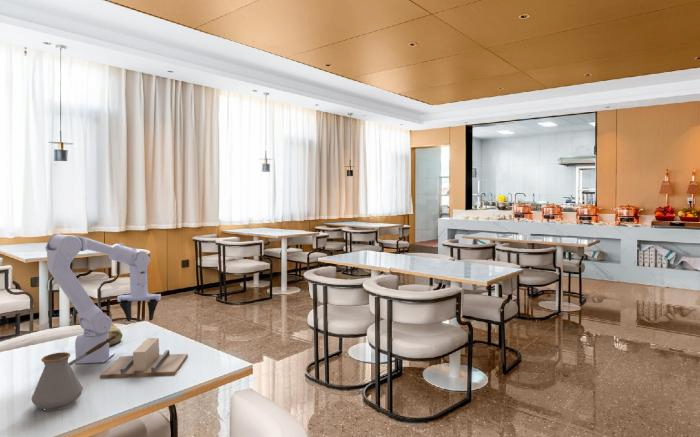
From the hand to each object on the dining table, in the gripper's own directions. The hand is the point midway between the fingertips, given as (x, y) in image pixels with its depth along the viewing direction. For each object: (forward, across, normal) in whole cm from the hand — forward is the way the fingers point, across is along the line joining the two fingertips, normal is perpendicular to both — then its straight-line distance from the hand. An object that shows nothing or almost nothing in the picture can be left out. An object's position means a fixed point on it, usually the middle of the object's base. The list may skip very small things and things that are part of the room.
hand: (140, 320), depth 163 cm
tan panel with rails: (+9, -9, +21) cm, 25 cm away
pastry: (+10, +15, -5) cm, 19 cm away
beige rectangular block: (+8, -9, +20) cm, 24 cm away
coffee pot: (+10, +2, +41) cm, 42 cm away
